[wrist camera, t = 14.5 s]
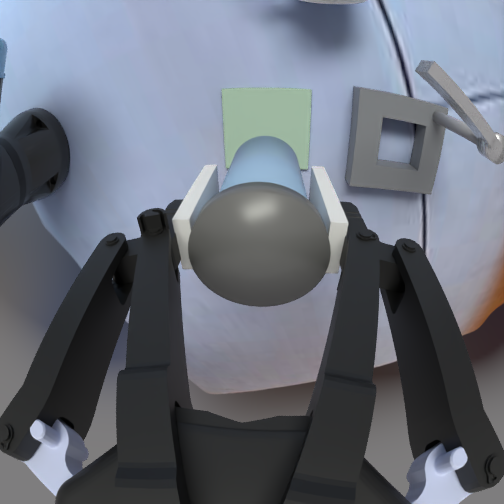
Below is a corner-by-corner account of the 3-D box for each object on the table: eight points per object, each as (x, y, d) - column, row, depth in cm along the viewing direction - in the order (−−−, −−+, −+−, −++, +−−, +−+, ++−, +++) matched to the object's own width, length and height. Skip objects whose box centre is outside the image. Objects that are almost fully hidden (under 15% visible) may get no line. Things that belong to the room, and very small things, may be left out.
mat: (226, 167, 33) (226, 168, 33) (222, 88, 27) (221, 89, 27) (307, 168, 33) (307, 169, 32) (310, 89, 27) (311, 89, 26)
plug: (228, 201, 21) (198, 303, 13) (223, 129, 18) (177, 193, 10) (302, 203, 21) (319, 307, 13) (307, 130, 18) (340, 196, 9)
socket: (345, 178, 33) (373, 229, 24) (353, 86, 26) (395, 98, 16) (422, 186, 32) (466, 235, 23) (438, 104, 25) (497, 130, 15)
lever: (499, 141, 16) (511, 148, 14) (486, 161, 17) (498, 169, 16) (425, 53, 13) (438, 54, 12) (410, 77, 15) (422, 79, 13)
